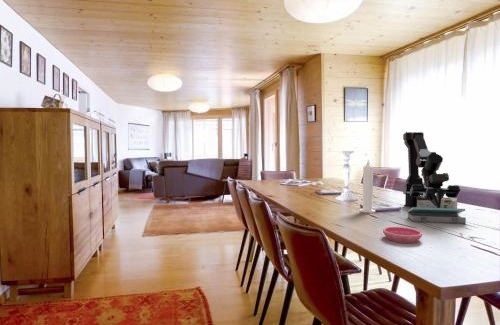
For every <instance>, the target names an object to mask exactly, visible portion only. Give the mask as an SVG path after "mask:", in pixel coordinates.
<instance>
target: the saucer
mask: <svg viewBox="0 0 500 325" xmlns="http://www.w3.org/2000/svg"><path fill="white" fill-rule="evenodd" d="M382 233H383V234H384V236H385V237H386V239H387V240H389V241H392V242H394V241H395V242H396V243H399V242H400V243H401V244H414V243H417V242H418V241H419V240H420V239H421V238H422V237H423V232H421V231H420V230H418V229H414V228H409V227H404V226H388V227H387V226H386V227H384V228H382ZM395 242H394V243H395Z"/></svg>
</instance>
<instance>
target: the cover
mask: <svg viewBox="0 0 500 325" xmlns="http://www.w3.org/2000/svg"><path fill="white" fill-rule="evenodd" d="M408 212H419V213H450V214H458V215H459V214H461V213H463V212H466V208H457V209H455V208H422V207H411V208H409V209H408V210H407V213H408Z"/></svg>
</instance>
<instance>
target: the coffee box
mask: <svg viewBox="0 0 500 325" xmlns="http://www.w3.org/2000/svg"><path fill="white" fill-rule="evenodd" d="M417 207H422V208H437V207H436V206H435V205H434V204H433V203H432V202H431V201H429V200H428V199H427V198H425V195H424V194H423V195H420V196H419V197H417ZM440 208H455V209H458V198H457V197H455V198H448V197H447V196H444V197H443V198H442V199H441V205H440Z"/></svg>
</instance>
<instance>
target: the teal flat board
mask: <svg viewBox="0 0 500 325" xmlns="http://www.w3.org/2000/svg"><path fill="white" fill-rule="evenodd" d="M407 218H408V219H409V220H410V221H411V222H413V223H431V224H432V223H433V224H434V223H437V224H458V225H459V224H461V225H466V224H467V223H466V222H467V220H466V219H467V218H466V217H463V216H460V215H459V213H458V214H450V213H419V212H408V211H407Z"/></svg>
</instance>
